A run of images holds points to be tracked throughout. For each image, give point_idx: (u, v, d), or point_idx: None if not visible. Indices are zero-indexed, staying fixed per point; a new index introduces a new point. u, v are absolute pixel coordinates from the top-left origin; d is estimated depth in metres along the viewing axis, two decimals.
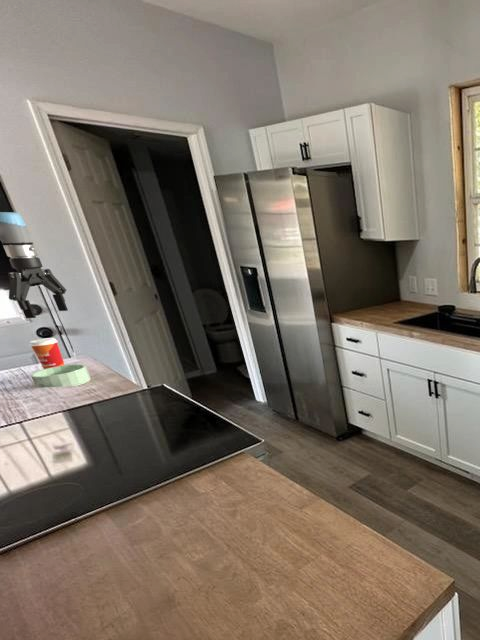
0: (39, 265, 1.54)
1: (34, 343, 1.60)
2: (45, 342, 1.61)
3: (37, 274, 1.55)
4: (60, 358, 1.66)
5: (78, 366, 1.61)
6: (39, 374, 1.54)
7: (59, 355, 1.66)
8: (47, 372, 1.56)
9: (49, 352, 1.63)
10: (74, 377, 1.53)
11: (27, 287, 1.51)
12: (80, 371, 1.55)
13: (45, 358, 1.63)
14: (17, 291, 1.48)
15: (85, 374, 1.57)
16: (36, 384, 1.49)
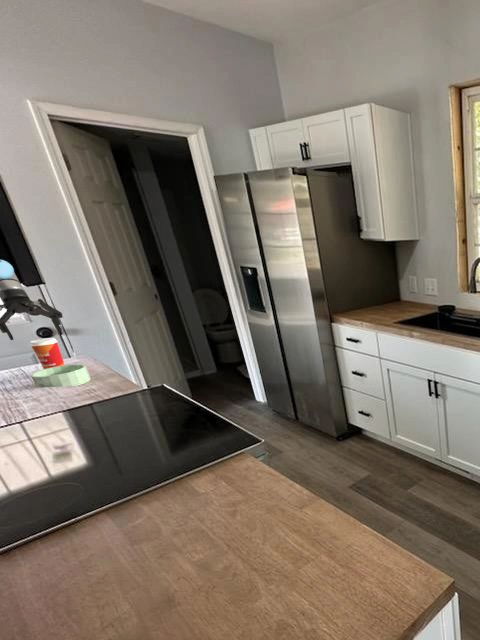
0: None
1: (34, 343, 1.60)
2: (45, 342, 1.61)
3: None
4: (60, 358, 1.66)
5: (78, 366, 1.61)
6: (39, 374, 1.54)
7: (59, 355, 1.66)
8: (47, 372, 1.56)
9: (49, 352, 1.63)
10: (74, 377, 1.53)
11: None
12: (80, 371, 1.55)
13: (45, 358, 1.63)
14: None
15: (85, 374, 1.57)
16: (36, 384, 1.49)
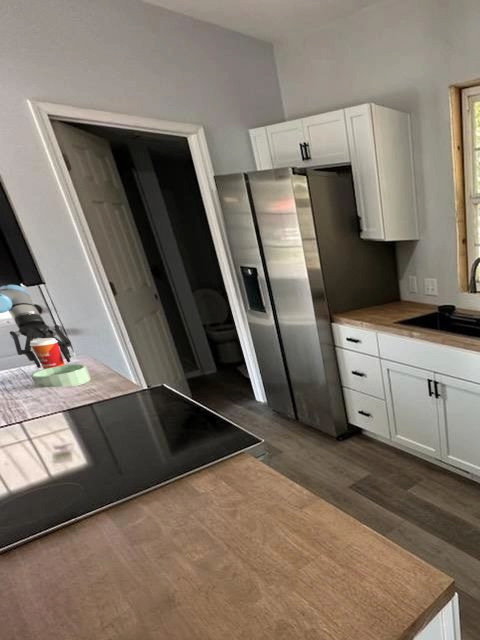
0: None
1: (34, 343, 1.60)
2: (45, 342, 1.61)
3: None
4: (60, 358, 1.66)
5: (78, 366, 1.61)
6: (39, 374, 1.54)
7: (59, 355, 1.66)
8: (47, 372, 1.56)
9: (49, 352, 1.63)
10: (74, 377, 1.53)
11: None
12: (80, 371, 1.55)
13: (45, 358, 1.63)
14: None
15: (85, 374, 1.57)
16: (36, 384, 1.49)
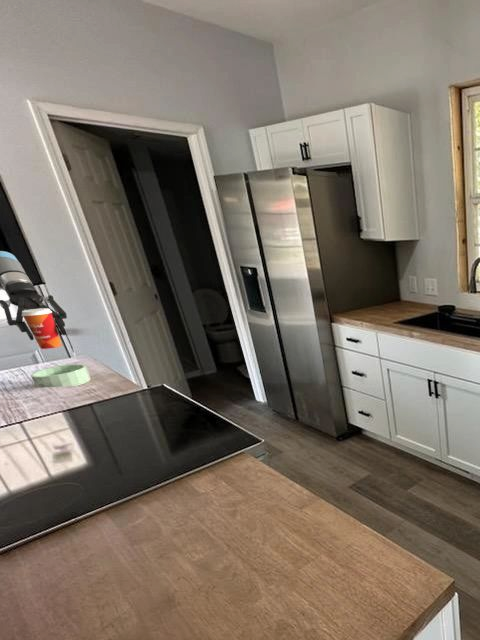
0: None
1: (26, 313, 1.47)
2: (38, 312, 1.49)
3: None
4: (55, 330, 1.54)
5: (78, 366, 1.61)
6: (39, 374, 1.54)
7: (54, 327, 1.53)
8: (47, 372, 1.56)
9: (43, 323, 1.50)
10: (74, 377, 1.53)
11: None
12: (80, 371, 1.55)
13: (39, 330, 1.50)
14: None
15: (85, 374, 1.57)
16: (36, 384, 1.49)
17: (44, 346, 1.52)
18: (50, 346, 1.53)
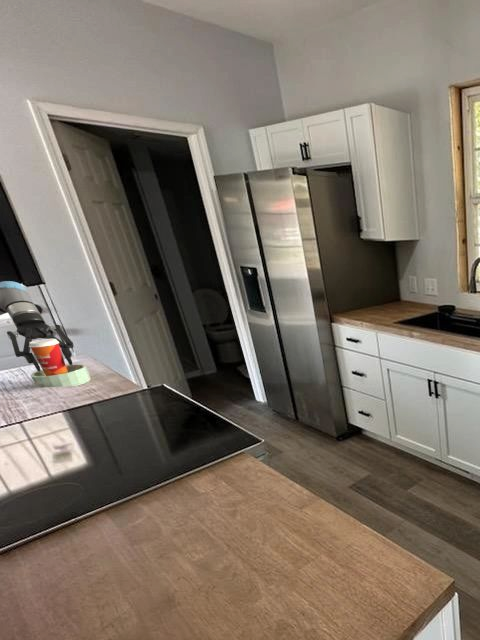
0: None
1: (34, 344, 1.47)
2: (46, 343, 1.49)
3: None
4: (62, 360, 1.54)
5: (78, 366, 1.61)
6: (39, 374, 1.54)
7: (61, 357, 1.54)
8: None
9: (50, 354, 1.50)
10: (74, 377, 1.53)
11: None
12: (80, 371, 1.55)
13: (46, 361, 1.50)
14: None
15: (85, 374, 1.57)
16: (36, 384, 1.49)
17: None
18: None
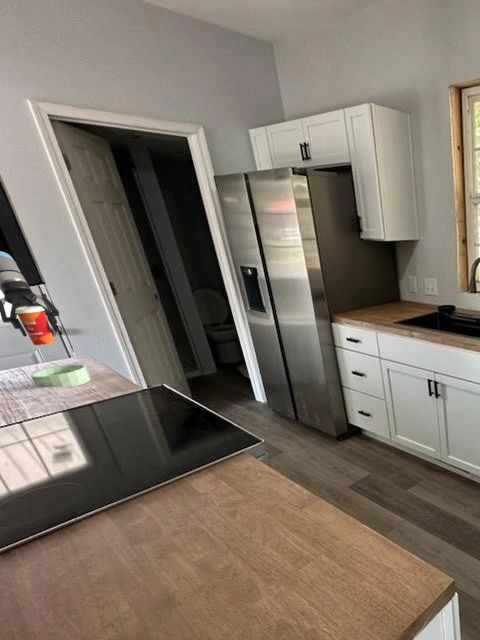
0: None
1: (20, 310, 1.54)
2: (31, 309, 1.55)
3: None
4: (47, 327, 1.60)
5: (78, 366, 1.61)
6: (39, 374, 1.54)
7: (46, 324, 1.60)
8: (47, 372, 1.56)
9: (35, 320, 1.57)
10: (74, 377, 1.53)
11: None
12: (80, 371, 1.55)
13: (31, 327, 1.56)
14: None
15: (85, 374, 1.57)
16: (36, 384, 1.49)
17: (37, 342, 1.59)
18: (42, 342, 1.60)
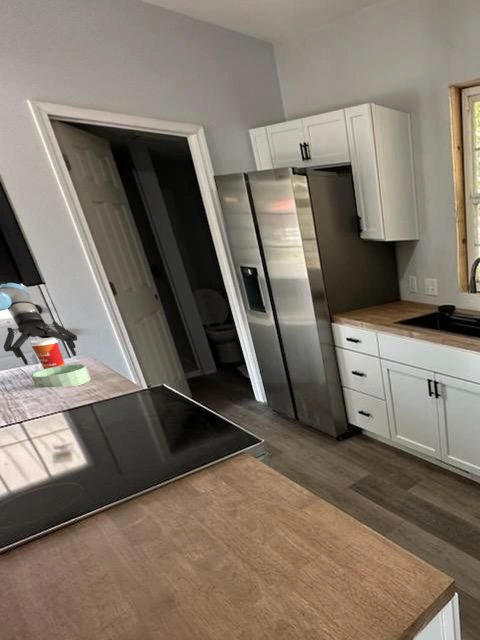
0: None
1: (34, 343, 1.60)
2: (45, 342, 1.61)
3: None
4: (60, 358, 1.66)
5: (78, 366, 1.61)
6: (39, 374, 1.54)
7: (59, 355, 1.66)
8: (47, 372, 1.56)
9: (49, 352, 1.63)
10: (74, 377, 1.53)
11: None
12: (80, 371, 1.55)
13: (45, 358, 1.63)
14: None
15: (85, 374, 1.57)
16: (36, 384, 1.49)
17: None
18: None
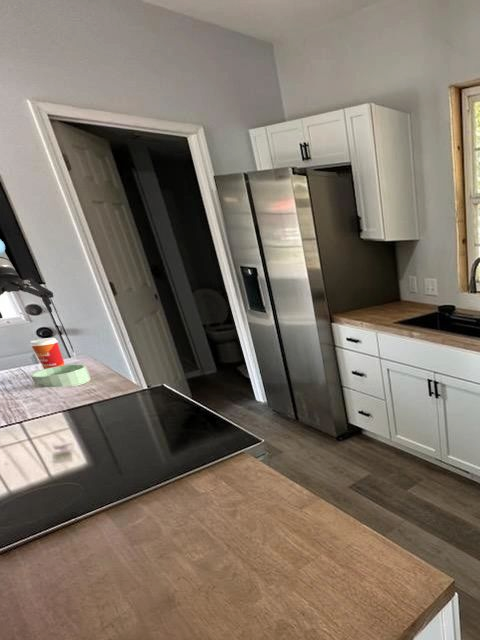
0: None
1: (34, 343, 1.60)
2: (45, 342, 1.61)
3: None
4: (60, 358, 1.66)
5: (78, 366, 1.61)
6: (39, 374, 1.54)
7: (59, 355, 1.66)
8: (47, 372, 1.56)
9: (49, 352, 1.63)
10: (74, 377, 1.53)
11: None
12: (80, 371, 1.55)
13: (45, 358, 1.63)
14: None
15: (85, 374, 1.57)
16: (36, 384, 1.49)
17: None
18: None
